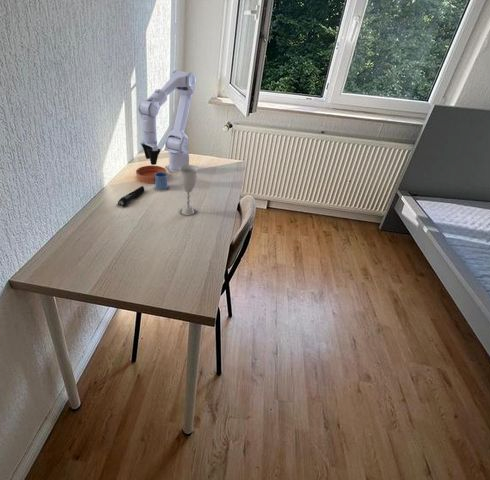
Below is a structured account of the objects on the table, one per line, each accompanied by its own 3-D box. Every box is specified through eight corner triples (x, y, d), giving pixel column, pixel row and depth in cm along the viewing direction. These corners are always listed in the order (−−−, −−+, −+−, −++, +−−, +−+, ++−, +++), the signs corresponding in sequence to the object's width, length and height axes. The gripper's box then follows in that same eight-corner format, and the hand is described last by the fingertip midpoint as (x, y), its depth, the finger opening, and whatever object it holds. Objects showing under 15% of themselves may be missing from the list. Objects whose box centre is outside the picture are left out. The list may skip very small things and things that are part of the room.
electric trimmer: (146, 193, 149) (146, 186, 148) (124, 207, 138) (124, 200, 136) (139, 191, 151) (139, 184, 149) (117, 205, 139) (116, 198, 137)
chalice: (194, 217, 133) (195, 173, 123) (177, 215, 134) (177, 171, 124) (198, 208, 139) (199, 165, 129) (181, 206, 140) (182, 164, 130)
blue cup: (165, 185, 157) (164, 171, 153) (169, 189, 153) (168, 176, 149) (153, 186, 155) (153, 173, 151) (157, 191, 151) (157, 177, 147)
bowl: (161, 170, 170) (160, 164, 168) (170, 182, 160) (170, 174, 158) (133, 174, 165) (132, 167, 164) (140, 186, 155) (140, 178, 153)
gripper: (135, 127, 151) (137, 157, 159) (145, 136, 140) (147, 168, 148) (151, 125, 154) (152, 155, 161) (162, 135, 143) (162, 166, 150)
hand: (151, 161), depth 155 cm, fingers open, 7 cm apart
